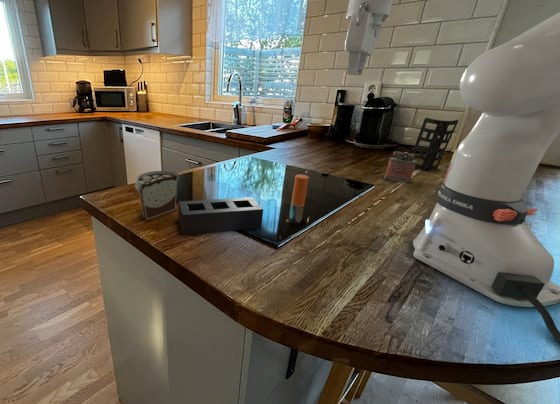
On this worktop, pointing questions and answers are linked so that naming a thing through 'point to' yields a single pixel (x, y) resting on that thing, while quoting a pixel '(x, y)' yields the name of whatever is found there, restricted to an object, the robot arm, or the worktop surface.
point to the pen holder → (219, 215)
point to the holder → (433, 143)
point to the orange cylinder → (298, 199)
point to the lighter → (400, 167)
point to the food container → (157, 192)
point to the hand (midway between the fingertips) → (354, 74)
